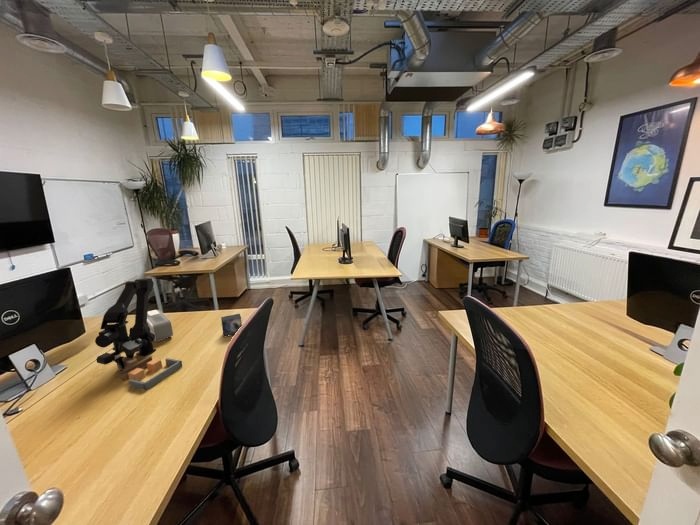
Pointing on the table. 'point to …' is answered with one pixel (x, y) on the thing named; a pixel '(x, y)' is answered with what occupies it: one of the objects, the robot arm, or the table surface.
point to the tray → (146, 385)
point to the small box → (231, 324)
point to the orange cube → (154, 365)
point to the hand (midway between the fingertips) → (126, 366)
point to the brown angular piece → (132, 366)
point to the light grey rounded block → (159, 325)
